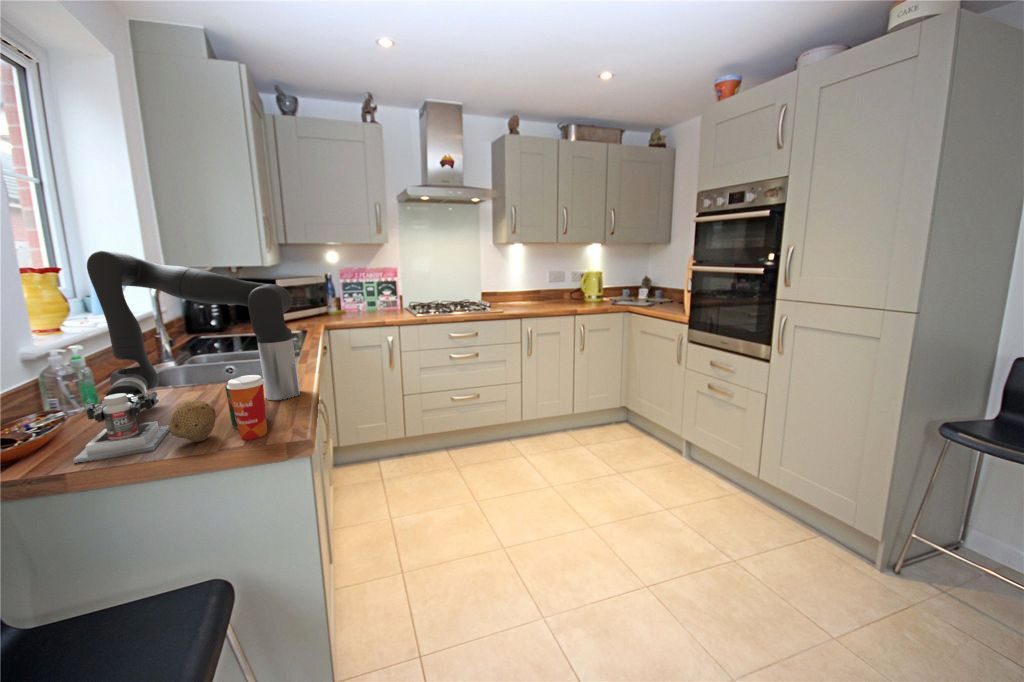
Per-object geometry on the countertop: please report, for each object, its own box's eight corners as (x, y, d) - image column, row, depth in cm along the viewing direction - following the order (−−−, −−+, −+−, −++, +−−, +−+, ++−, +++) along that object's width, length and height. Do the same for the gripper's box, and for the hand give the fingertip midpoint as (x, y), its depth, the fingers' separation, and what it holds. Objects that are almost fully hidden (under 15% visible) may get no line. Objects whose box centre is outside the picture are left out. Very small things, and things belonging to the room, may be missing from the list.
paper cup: (227, 439, 108) (217, 382, 105) (256, 427, 115) (247, 373, 112) (251, 443, 105) (242, 385, 102) (279, 430, 112) (271, 375, 109)
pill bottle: (119, 442, 103) (110, 400, 101) (103, 439, 105) (93, 398, 103) (144, 432, 108) (136, 392, 106) (128, 430, 110) (119, 391, 108)
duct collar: (170, 428, 116) (168, 417, 116) (154, 450, 104) (151, 437, 103) (100, 439, 111) (97, 427, 110) (74, 463, 98) (70, 450, 98)
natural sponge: (173, 454, 101) (164, 411, 99) (172, 441, 108) (164, 400, 106) (221, 442, 107) (214, 401, 105) (218, 430, 114) (211, 392, 112)
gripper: (86, 386, 113) (70, 405, 99) (159, 375, 120) (153, 392, 106) (93, 415, 114) (78, 438, 100) (164, 402, 122) (160, 422, 108)
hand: (117, 414), depth 103 cm, fingers closed on pill bottle, 5 cm apart
